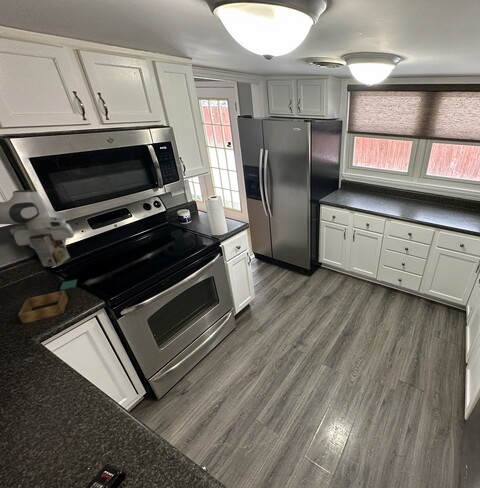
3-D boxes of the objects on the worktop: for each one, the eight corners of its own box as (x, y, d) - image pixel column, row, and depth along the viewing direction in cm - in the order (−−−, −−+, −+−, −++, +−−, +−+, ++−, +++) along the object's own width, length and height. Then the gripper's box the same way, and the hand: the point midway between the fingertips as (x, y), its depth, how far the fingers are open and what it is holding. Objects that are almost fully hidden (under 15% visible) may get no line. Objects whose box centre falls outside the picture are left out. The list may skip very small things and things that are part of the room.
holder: (22, 324, 115) (17, 315, 113) (31, 307, 125) (26, 298, 123) (63, 313, 122) (58, 304, 120) (68, 298, 132) (64, 290, 129)
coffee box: (57, 257, 138) (44, 229, 132) (70, 257, 139) (58, 229, 132) (42, 266, 130) (28, 237, 123) (57, 266, 131) (43, 236, 124)
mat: (60, 290, 137) (59, 289, 137) (62, 283, 143) (62, 282, 143) (75, 287, 140) (74, 286, 140) (77, 280, 146) (77, 279, 146)
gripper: (5, 229, 118) (20, 256, 124) (66, 221, 129) (77, 246, 135) (10, 225, 123) (24, 251, 129) (68, 217, 133) (78, 242, 139)
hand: (51, 249), depth 132 cm, fingers closed on coffee box, 8 cm apart
